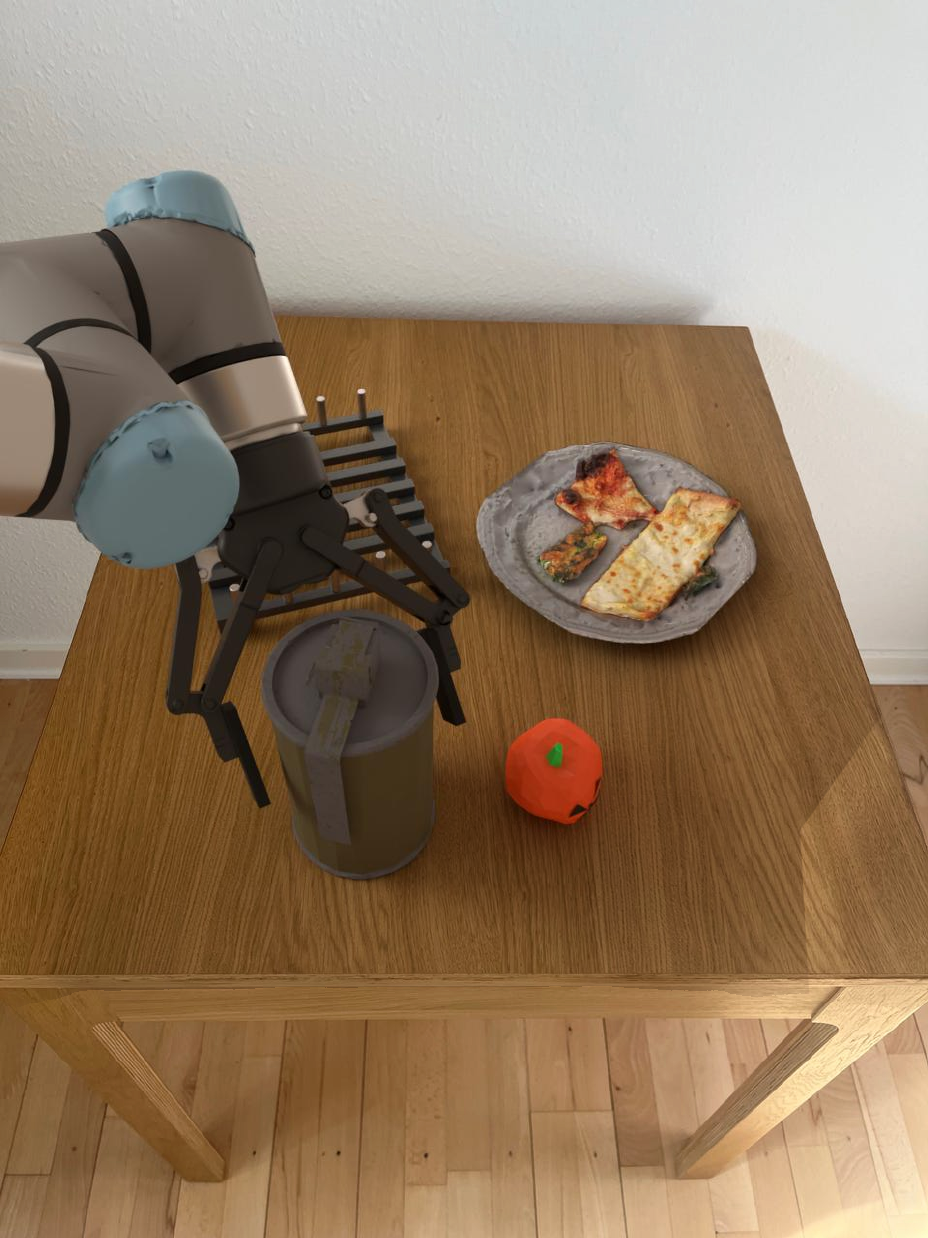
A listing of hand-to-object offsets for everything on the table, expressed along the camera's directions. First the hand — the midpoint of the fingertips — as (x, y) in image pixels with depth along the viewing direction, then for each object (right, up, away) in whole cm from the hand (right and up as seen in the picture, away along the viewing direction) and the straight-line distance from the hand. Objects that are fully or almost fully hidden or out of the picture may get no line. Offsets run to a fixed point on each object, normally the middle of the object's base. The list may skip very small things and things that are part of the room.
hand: (361, 760), depth 61 cm
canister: (-1, -5, +8) cm, 9 cm away
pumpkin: (+13, -4, +10) cm, 17 cm away
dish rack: (-8, +18, +26) cm, 32 cm away
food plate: (+21, +16, +25) cm, 36 cm away
